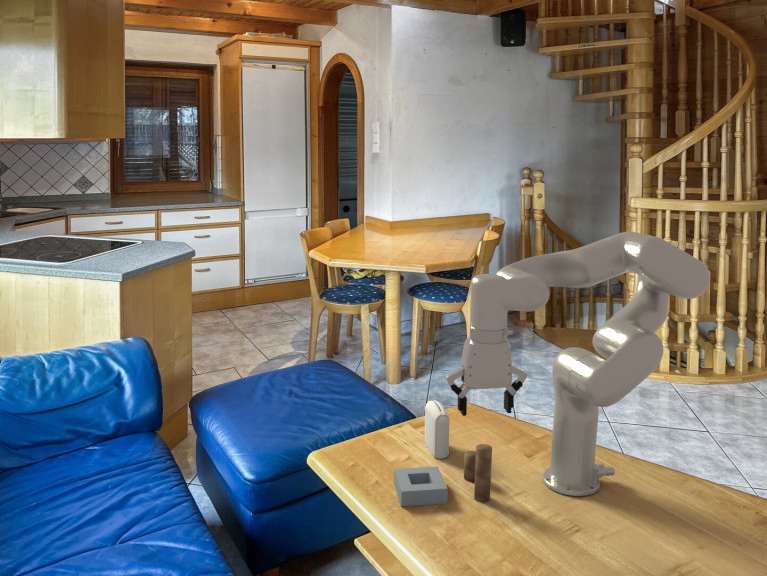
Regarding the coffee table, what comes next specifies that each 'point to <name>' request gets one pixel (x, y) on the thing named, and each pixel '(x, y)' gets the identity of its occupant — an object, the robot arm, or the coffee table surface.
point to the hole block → (420, 486)
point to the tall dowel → (483, 473)
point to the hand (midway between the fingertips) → (485, 412)
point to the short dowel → (469, 466)
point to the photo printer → (437, 429)
